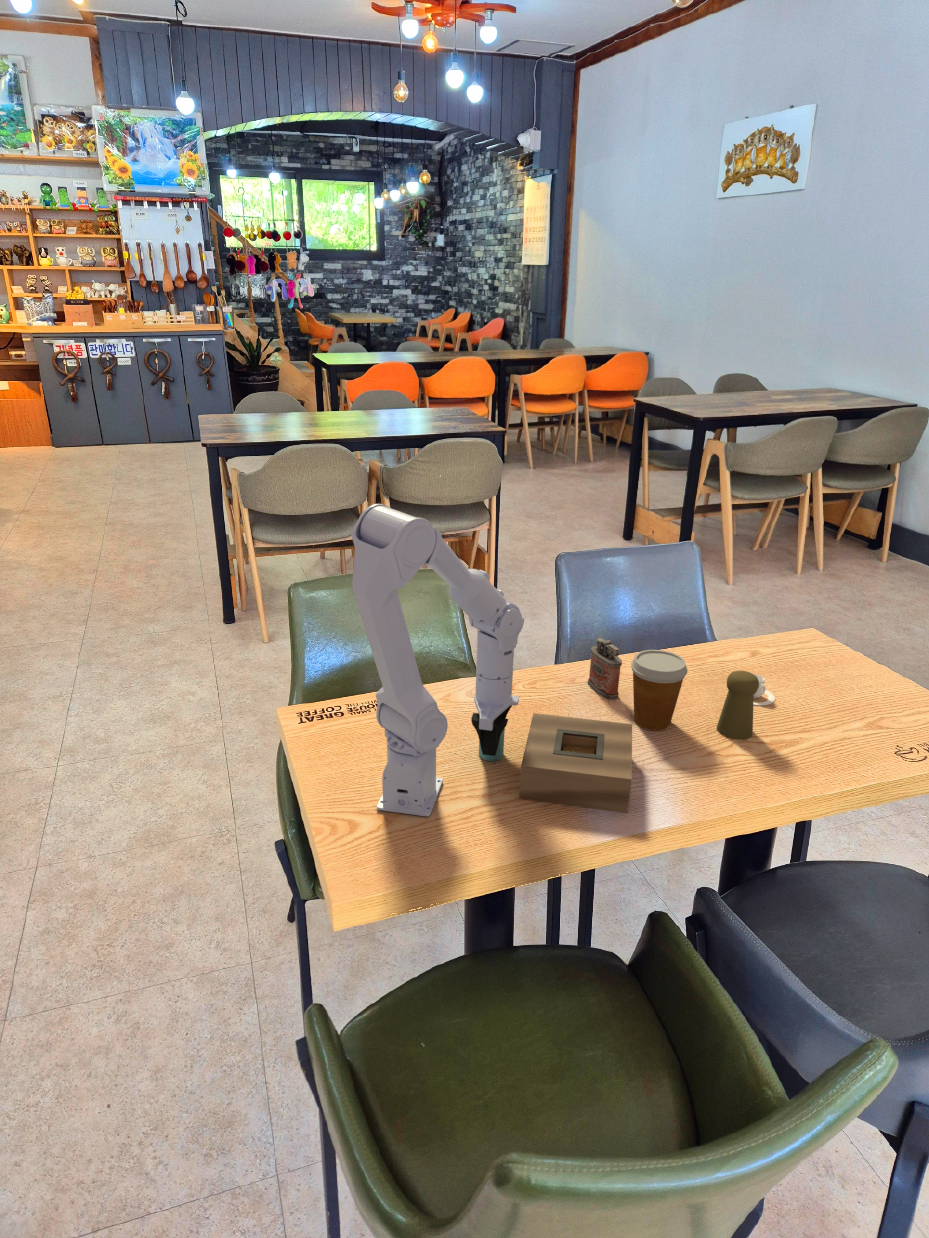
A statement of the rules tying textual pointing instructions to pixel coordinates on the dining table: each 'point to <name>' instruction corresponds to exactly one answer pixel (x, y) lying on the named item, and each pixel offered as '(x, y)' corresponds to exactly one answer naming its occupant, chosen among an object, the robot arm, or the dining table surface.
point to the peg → (498, 754)
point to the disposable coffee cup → (656, 687)
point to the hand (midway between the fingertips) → (491, 746)
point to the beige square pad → (578, 749)
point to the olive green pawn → (738, 706)
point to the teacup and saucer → (763, 690)
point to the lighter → (605, 669)
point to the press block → (577, 763)
